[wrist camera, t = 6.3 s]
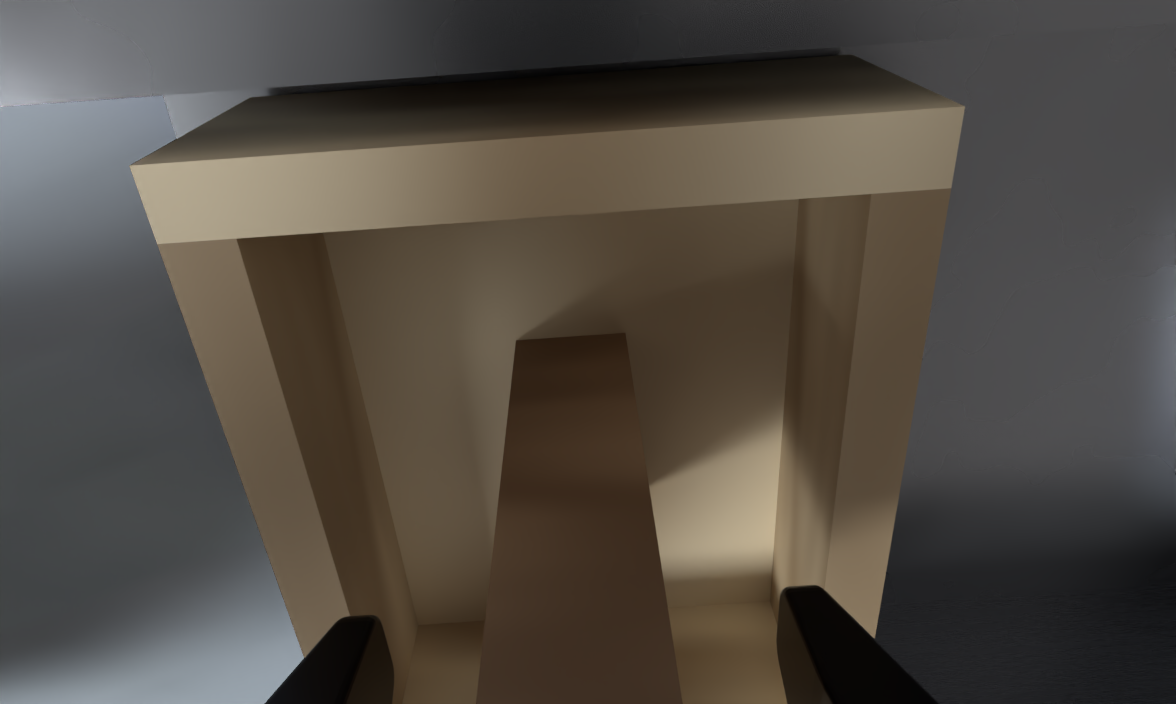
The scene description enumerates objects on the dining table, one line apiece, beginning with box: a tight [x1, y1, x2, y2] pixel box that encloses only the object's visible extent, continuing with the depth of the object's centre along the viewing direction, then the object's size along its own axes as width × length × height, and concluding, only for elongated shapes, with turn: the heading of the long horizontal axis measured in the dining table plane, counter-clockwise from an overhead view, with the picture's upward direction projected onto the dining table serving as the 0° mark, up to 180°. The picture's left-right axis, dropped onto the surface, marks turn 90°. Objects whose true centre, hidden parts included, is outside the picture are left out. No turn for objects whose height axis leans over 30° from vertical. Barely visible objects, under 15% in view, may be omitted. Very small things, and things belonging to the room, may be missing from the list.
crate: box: [130, 54, 965, 704], centre depth 9 cm, size 8×10×8 cm
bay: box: [0, 0, 1176, 704], centre depth 12 cm, size 19×14×4 cm
